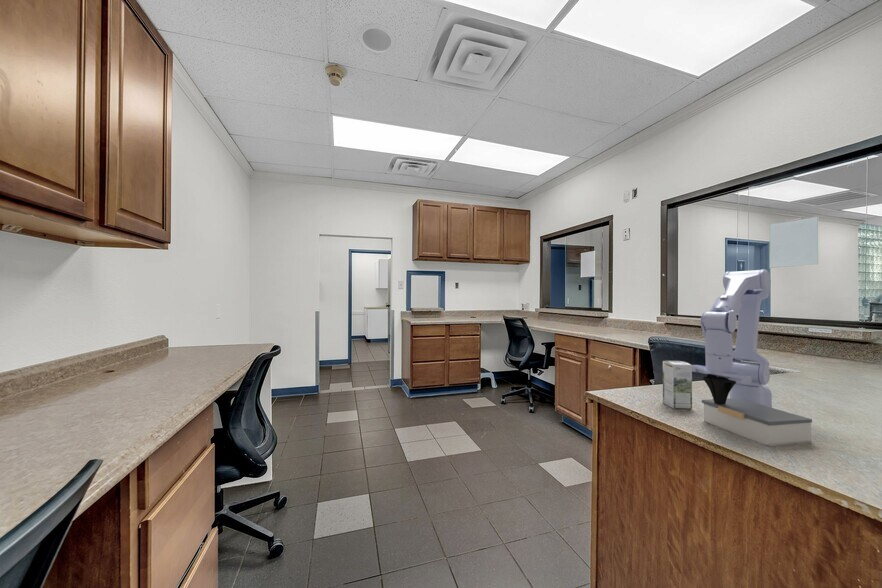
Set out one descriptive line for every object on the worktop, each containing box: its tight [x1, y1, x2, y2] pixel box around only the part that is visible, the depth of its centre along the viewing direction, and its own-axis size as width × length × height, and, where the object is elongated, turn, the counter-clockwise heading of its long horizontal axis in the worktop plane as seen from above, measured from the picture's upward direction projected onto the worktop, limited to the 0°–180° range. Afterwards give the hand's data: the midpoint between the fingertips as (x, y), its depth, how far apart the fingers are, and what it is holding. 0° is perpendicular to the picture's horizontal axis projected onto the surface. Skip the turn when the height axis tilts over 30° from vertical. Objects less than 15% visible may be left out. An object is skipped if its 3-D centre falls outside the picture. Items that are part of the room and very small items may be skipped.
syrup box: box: [662, 360, 693, 410], centre depth 102 cm, size 6×6×14 cm
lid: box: [701, 398, 813, 425], centre depth 83 cm, size 13×16×1 cm
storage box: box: [703, 403, 812, 448], centre depth 83 cm, size 12×16×5 cm
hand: (719, 403), depth 87 cm, fingers closed
